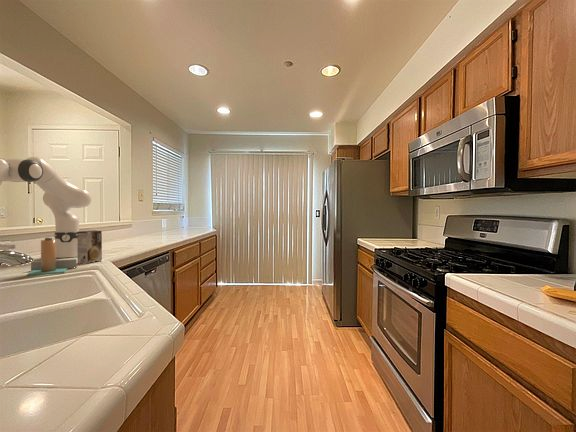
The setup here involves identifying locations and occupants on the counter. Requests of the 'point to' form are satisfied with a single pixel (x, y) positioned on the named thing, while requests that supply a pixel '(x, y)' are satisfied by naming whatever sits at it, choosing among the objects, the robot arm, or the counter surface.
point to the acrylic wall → (59, 264)
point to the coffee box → (89, 246)
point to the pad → (38, 272)
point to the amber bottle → (48, 255)
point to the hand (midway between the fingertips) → (11, 247)
